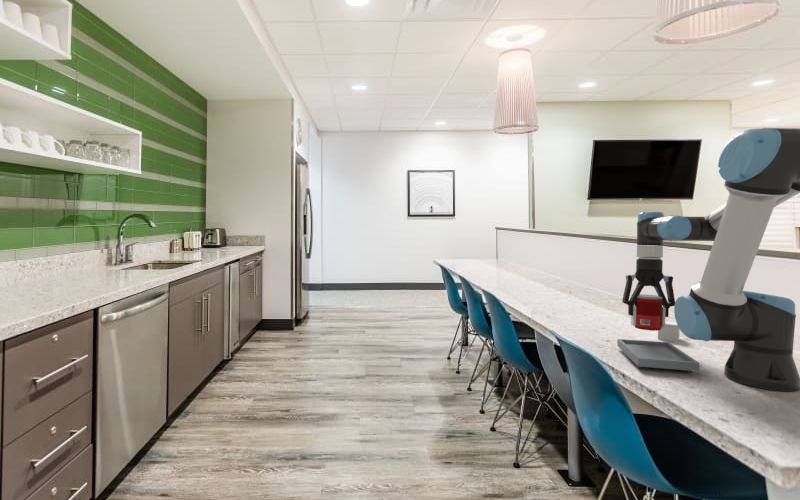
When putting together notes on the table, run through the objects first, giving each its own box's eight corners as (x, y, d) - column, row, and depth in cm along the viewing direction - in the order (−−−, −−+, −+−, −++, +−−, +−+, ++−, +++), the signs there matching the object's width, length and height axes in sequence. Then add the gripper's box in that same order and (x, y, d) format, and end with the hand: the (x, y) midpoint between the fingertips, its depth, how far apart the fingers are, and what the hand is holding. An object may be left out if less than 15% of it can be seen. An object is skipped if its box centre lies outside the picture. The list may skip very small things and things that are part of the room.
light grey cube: (657, 339, 150) (658, 322, 150) (660, 336, 155) (660, 320, 154) (677, 342, 146) (678, 325, 146) (679, 338, 151) (680, 322, 151)
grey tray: (617, 349, 136) (617, 338, 136) (668, 353, 133) (668, 342, 132) (637, 370, 116) (638, 358, 116) (698, 375, 112) (699, 362, 112)
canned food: (666, 331, 135) (667, 297, 135) (642, 330, 135) (642, 297, 135) (652, 326, 142) (653, 294, 142) (629, 325, 143) (630, 294, 142)
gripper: (679, 258, 139) (678, 325, 140) (612, 257, 144) (610, 322, 145) (689, 259, 132) (687, 330, 133) (618, 258, 137) (616, 326, 137)
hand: (647, 325), depth 139 cm, fingers closed on canned food, 8 cm apart
